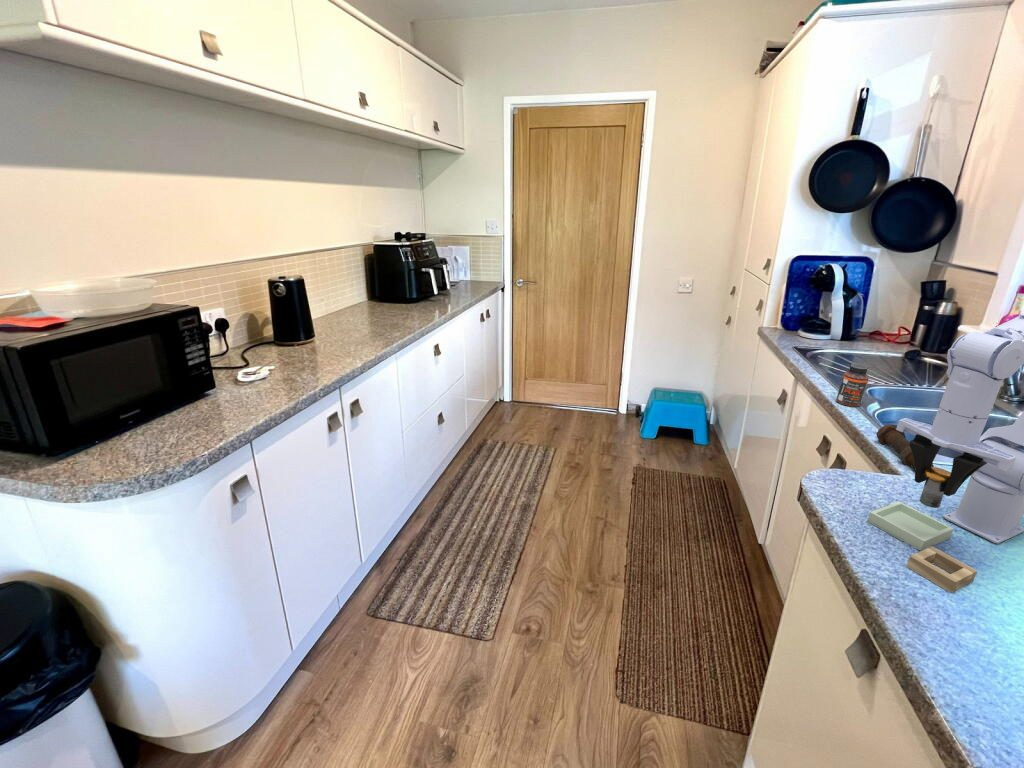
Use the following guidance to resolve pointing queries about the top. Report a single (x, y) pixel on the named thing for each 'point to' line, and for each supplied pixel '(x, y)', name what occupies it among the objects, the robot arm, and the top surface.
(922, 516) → the parts tray
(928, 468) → the pin
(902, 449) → the bolt
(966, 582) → the collar block
